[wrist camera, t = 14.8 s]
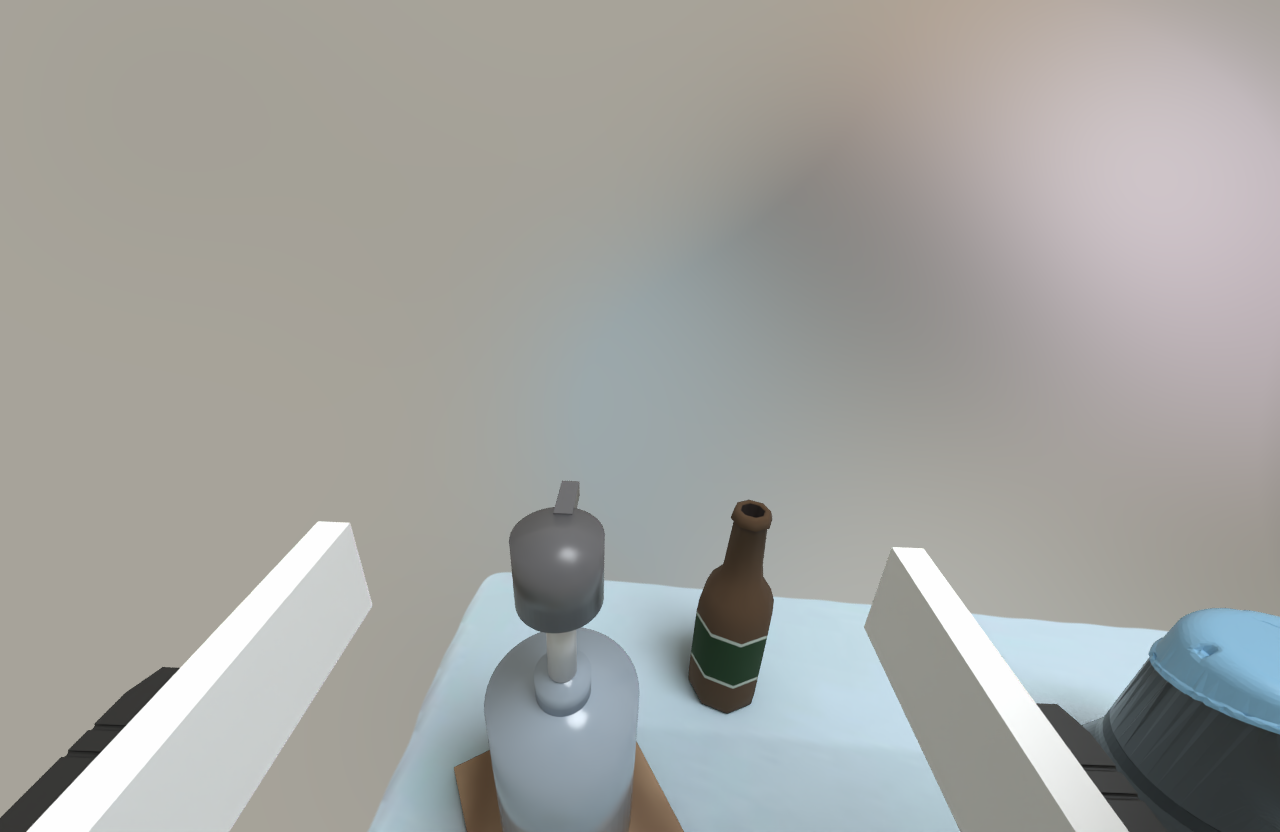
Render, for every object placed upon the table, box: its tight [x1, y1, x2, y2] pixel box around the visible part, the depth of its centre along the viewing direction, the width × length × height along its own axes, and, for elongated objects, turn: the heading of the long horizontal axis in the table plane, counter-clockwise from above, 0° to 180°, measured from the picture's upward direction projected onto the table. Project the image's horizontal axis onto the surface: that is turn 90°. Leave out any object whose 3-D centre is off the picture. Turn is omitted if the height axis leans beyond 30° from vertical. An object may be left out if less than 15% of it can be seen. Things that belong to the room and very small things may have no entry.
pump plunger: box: [509, 481, 605, 683], centre depth 33 cm, size 6×8×12 cm
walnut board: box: [454, 742, 684, 832], centre depth 43 cm, size 16×16×1 cm
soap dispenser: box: [484, 628, 639, 832], centre depth 39 cm, size 11×11×18 cm
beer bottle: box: [689, 500, 774, 713], centre depth 50 cm, size 8×8×24 cm
